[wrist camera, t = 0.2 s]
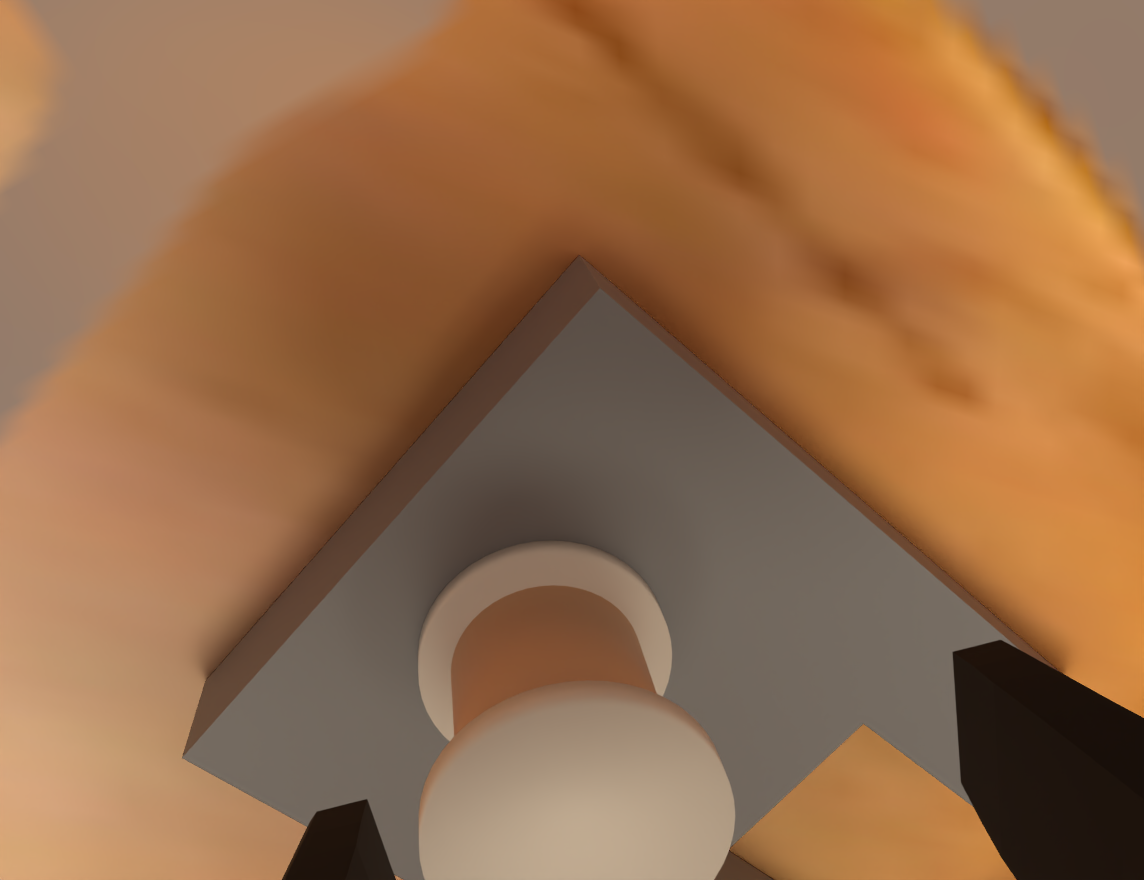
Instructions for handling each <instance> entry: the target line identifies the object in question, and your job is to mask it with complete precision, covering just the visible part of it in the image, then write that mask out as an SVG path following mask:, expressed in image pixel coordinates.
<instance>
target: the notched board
mask: <svg viewBox="0 0 1144 880" xmlns="http://www.w3.org/2000/svg"><path fill="white" fill-rule="evenodd" d="M997 640H1002V641H1004V642H1006V643H1008V644H1010V645H1012V646H1014V647H1016V648H1017V649H1019V650H1021V651H1023V652H1025V653H1027V654H1028V655H1030V656H1032V657H1034V658H1036V659H1037V660H1039V661H1041V662H1043V663H1044V664H1046V665H1048V666H1050V667H1052V668H1053V669H1055V670H1057V669H1056V668H1055V667H1053V666H1052V665H1051V664H1050V663H1049V662H1048V661H1046V660H1045V659H1044V658H1043V657H1042V656H1041V655H1040V654H1038V653H1037V652H1036V651H1035V650H1034V649H1033V648H1031V647H1030V646H1029V645H1028V644H1027V643H1026V642H1025V641H1023V640H1022V639H1021V638H1020V637H1019V636H1018V635H1017V634H1015V633H1014V632H1013V631H1012V630H1011V629H1010V628H1008V627H1007V626H1006V625H1005V624H1004V623H1003V622H1002V621H1000V620H999V619H998V618H997V617H996V616H995V615H993V614H992V613H991V612H990V611H989V610H988V609H987V608H985V607H984V606H983V605H982V604H981V603H980V602H979V601H977V600H976V599H975V598H974V597H973V596H972V595H970V594H969V593H968V592H967V591H966V590H965V589H964V588H962V587H961V586H960V585H959V584H958V583H957V582H955V581H954V580H953V579H952V578H951V577H950V576H949V575H947V574H946V573H945V572H944V571H943V570H942V569H941V568H939V567H938V566H937V565H936V564H935V563H934V562H932V561H931V560H930V559H929V558H928V557H927V556H926V555H924V554H923V553H922V552H921V551H920V550H919V549H917V548H916V547H915V546H914V545H913V544H912V543H911V542H909V541H908V540H907V539H906V538H905V537H904V536H903V535H901V534H900V533H899V532H898V531H897V530H896V529H894V528H893V527H892V526H891V525H890V524H889V523H888V522H886V521H885V520H884V519H883V518H882V517H881V516H879V515H878V514H877V513H876V512H875V511H874V510H873V509H871V508H870V507H869V506H868V505H867V504H866V503H865V502H863V501H862V500H861V499H860V498H859V497H858V496H856V495H855V494H854V493H853V492H852V491H851V490H850V489H848V488H847V487H846V486H845V485H844V484H843V483H841V482H840V481H839V480H838V479H837V478H836V477H835V476H833V475H832V474H831V473H830V472H829V471H828V470H826V469H825V468H824V467H823V466H822V465H821V464H820V463H818V462H817V461H816V460H815V459H814V458H813V457H812V456H810V455H809V454H808V453H807V452H806V451H805V450H803V449H802V448H801V447H800V446H799V445H798V444H797V443H795V442H794V441H793V440H792V439H791V438H790V437H788V436H787V435H786V434H785V433H784V432H783V431H782V430H780V429H779V428H778V427H777V426H776V425H775V424H774V423H772V422H771V421H770V420H769V419H768V418H767V417H765V416H764V415H763V414H762V413H761V412H760V411H759V410H757V409H756V408H755V407H754V406H753V405H752V404H750V403H749V402H748V401H747V400H746V399H745V398H744V397H742V396H741V395H740V394H739V393H738V392H737V391H736V390H734V389H733V388H732V387H731V386H730V385H729V384H727V383H726V382H725V381H724V380H723V379H722V378H721V377H719V376H718V375H717V374H716V373H715V372H714V371H712V370H711V369H710V368H709V367H708V366H707V365H706V364H704V363H703V362H702V361H701V360H700V359H699V358H698V357H696V356H695V355H694V354H693V353H692V352H691V351H689V350H688V349H687V348H686V347H685V346H684V345H683V344H681V343H680V342H679V341H678V340H677V339H676V338H674V337H673V336H672V335H671V334H670V333H669V332H668V331H666V330H665V329H664V328H663V327H662V326H661V325H660V324H658V323H657V322H656V321H655V320H654V319H653V318H651V317H650V316H649V315H648V314H647V313H646V312H645V311H643V310H642V309H641V308H640V307H639V306H638V305H636V304H635V303H634V302H633V301H632V300H631V299H630V298H628V297H627V296H626V295H625V294H624V293H623V292H622V291H620V290H619V289H618V288H617V287H616V286H615V285H613V284H612V283H611V282H610V281H609V280H608V279H607V278H605V277H604V276H603V275H602V274H601V273H600V272H598V271H597V270H596V269H595V268H594V267H593V266H592V265H590V264H589V263H588V262H587V261H586V260H585V259H584V258H582V257H581V256H580V255H579V256H578V257H577V258H576V259H575V260H574V261H573V263H572V264H571V265H570V266H569V267H568V268H567V269H566V271H565V272H564V273H563V274H562V275H561V276H560V277H559V279H558V280H557V281H556V282H555V283H554V284H553V285H552V286H551V288H550V289H549V290H548V291H547V292H546V293H545V294H544V296H543V297H542V298H541V299H540V300H539V301H538V302H537V304H536V305H535V306H534V307H533V308H532V309H531V310H530V312H529V313H528V314H527V315H526V316H525V317H524V318H523V320H522V321H521V322H520V323H519V324H518V325H517V326H516V328H515V329H514V330H513V331H512V332H511V333H510V334H509V336H508V337H507V338H506V339H505V340H504V341H503V342H502V344H501V345H500V346H499V347H498V348H497V349H496V350H495V352H494V353H493V354H492V355H491V356H490V357H489V358H488V359H487V361H486V362H485V363H484V364H483V365H482V366H481V367H480V369H479V370H478V371H477V372H476V373H475V374H474V375H473V377H472V378H471V379H470V380H469V381H468V382H467V383H466V385H465V386H464V387H463V388H462V389H461V390H460V391H459V393H458V394H457V395H456V396H455V397H454V398H453V399H452V401H451V402H450V403H449V404H448V405H447V406H446V407H445V409H444V410H443V411H442V412H441V413H440V414H439V415H438V417H437V418H436V419H435V420H434V421H433V422H432V423H431V424H430V426H429V427H428V428H427V429H426V430H425V431H424V432H423V434H422V435H421V436H420V437H419V438H418V439H417V440H416V442H415V443H414V444H413V445H412V446H411V447H410V448H409V450H408V451H407V452H406V453H405V454H404V455H403V456H402V458H401V459H400V460H399V461H398V462H397V463H396V464H395V466H394V467H393V468H392V469H391V470H390V471H389V472H388V474H387V475H386V476H385V477H384V478H383V479H382V480H381V482H380V483H379V484H378V485H377V486H376V487H375V488H374V490H373V491H372V492H371V493H370V494H369V495H368V496H367V497H366V499H365V500H364V501H363V502H362V503H361V504H360V505H359V507H358V508H357V509H356V510H355V511H354V512H353V513H352V515H351V516H350V517H349V518H348V519H347V520H346V521H345V523H344V524H343V525H342V526H341V527H340V528H339V529H338V531H337V532H336V533H335V534H334V535H333V536H332V537H331V539H330V540H329V541H328V542H327V543H326V544H325V545H324V547H323V548H322V549H321V550H320V551H319V552H318V553H317V555H316V556H315V557H314V558H313V559H312V560H311V561H310V563H309V564H308V565H307V566H306V567H305V568H304V569H303V570H302V572H301V573H300V574H299V575H298V576H297V577H296V578H295V580H294V581H293V582H292V583H291V584H290V585H289V586H288V588H287V589H286V590H285V591H284V592H283V593H282V594H281V596H280V597H279V598H278V599H277V600H276V601H275V602H274V604H273V605H272V606H271V607H270V608H269V609H268V610H267V612H266V613H265V614H264V615H263V616H262V617H261V618H260V620H259V621H258V622H257V623H256V624H255V625H254V626H253V628H252V629H251V630H250V631H249V632H248V633H247V634H246V635H245V637H244V638H243V639H242V640H241V641H240V642H239V643H238V645H237V646H236V647H235V648H234V649H233V650H232V651H231V653H230V654H229V655H228V656H227V657H226V658H225V659H224V661H223V662H222V663H221V664H220V665H219V666H218V667H217V669H216V670H215V671H214V672H213V673H212V674H211V675H210V677H209V678H208V679H207V680H206V681H205V684H204V687H203V691H202V694H201V697H200V700H199V704H198V707H197V710H196V714H195V717H194V720H193V723H192V727H191V730H190V733H189V737H188V740H187V743H186V746H185V750H184V753H183V756H182V758H183V759H185V760H187V761H188V762H190V763H192V764H194V765H196V766H198V767H199V768H201V769H203V770H205V771H207V772H208V773H210V774H212V775H214V776H216V777H218V778H219V779H221V780H223V781H225V782H227V783H228V784H230V785H232V786H234V787H236V788H238V789H239V790H241V791H243V792H245V793H247V794H249V795H250V796H252V797H254V798H256V799H258V800H259V801H261V802H263V803H265V804H267V805H269V806H270V807H272V808H274V809H276V810H278V811H280V812H281V813H283V814H285V815H287V816H289V817H290V818H292V819H294V820H296V821H298V822H300V823H301V824H303V825H305V826H308V824H309V822H310V821H311V819H312V818H313V816H314V815H315V813H316V812H317V811H321V810H325V809H329V808H333V807H337V806H341V805H345V804H349V803H353V802H357V801H361V800H365V799H367V800H368V802H369V805H370V808H371V811H372V814H373V817H374V819H375V822H376V825H377V828H378V831H379V834H380V836H381V839H382V842H383V845H384V848H385V850H386V853H387V856H388V859H389V862H390V865H391V867H392V870H393V873H394V875H396V876H398V877H400V878H402V879H403V880H773V879H771V878H770V877H768V876H767V875H765V874H764V873H762V872H761V871H759V870H758V869H756V868H754V867H753V866H751V865H750V864H748V863H747V862H745V861H744V860H742V859H741V858H739V857H737V856H736V855H734V854H733V853H731V852H730V851H729V849H730V847H731V846H733V845H734V844H735V843H736V842H737V841H738V840H739V839H740V838H741V837H742V836H743V835H744V834H745V833H746V832H748V831H749V830H750V829H751V828H752V827H753V826H754V825H755V824H756V823H757V822H758V821H759V820H760V819H762V818H763V817H764V816H765V815H766V814H767V813H768V812H769V811H770V810H771V809H772V808H773V807H774V806H776V805H777V804H778V803H779V802H780V801H781V800H782V799H783V798H784V797H785V796H786V795H787V794H788V793H789V792H791V791H792V790H793V789H794V788H795V787H796V786H797V785H798V784H799V783H800V782H801V781H802V780H803V779H805V778H806V777H807V776H808V775H809V774H810V773H811V772H812V771H813V770H814V769H815V768H816V767H817V766H819V765H820V764H821V763H822V762H823V761H824V760H825V759H826V758H827V757H828V756H829V755H830V754H831V753H833V752H834V751H835V750H836V749H837V748H838V747H839V746H840V745H841V744H842V743H843V742H844V741H845V740H846V739H848V738H849V737H850V736H851V735H852V734H853V733H854V732H855V731H856V730H857V729H858V728H859V727H860V726H862V725H863V724H865V725H866V726H867V727H869V728H870V729H871V730H872V731H874V732H875V733H876V734H878V735H879V736H880V737H882V738H883V739H884V740H886V741H887V742H888V743H890V744H891V745H892V746H894V747H895V748H896V749H898V750H899V751H900V752H902V753H903V754H904V755H906V756H907V757H908V758H910V759H911V760H912V761H913V762H915V763H916V764H917V765H919V766H920V767H921V768H923V769H924V770H925V771H927V772H928V773H929V774H931V775H932V776H933V777H935V778H936V779H937V780H939V781H940V782H941V783H943V784H944V785H945V786H947V787H948V788H949V789H951V790H952V791H953V792H955V793H956V794H957V795H958V796H960V797H961V798H962V799H964V800H965V801H966V802H968V803H969V804H970V805H972V803H971V801H970V799H969V797H968V795H967V793H966V792H965V790H964V788H963V786H962V784H961V777H960V761H959V746H958V730H957V715H956V700H955V684H954V669H953V653H952V652H954V651H958V650H961V649H965V648H969V647H973V646H977V645H981V644H985V643H989V642H993V641H997ZM1057 671H1058V670H1057ZM972 806H973V805H972Z"/></svg>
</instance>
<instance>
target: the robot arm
mask: <svg viewBox="0 0 1144 880" xmlns="http://www.w3.org/2000/svg"><path fill="white" fill-rule="evenodd" d="M952 653H953V669H954V684H955V700H956V715H957V730H958V746H959V761H960V777H961V784H962V786H963V788H964V790H965V792H966V793H967V795H968V797H969V799H970V801H971V803H972V805H973V807H974V809H975V810H976V812H977V814H978V816H979V818H980V820H981V822H982V824H983V825H984V827H985V829H986V831H987V833H988V834H989V836H990V838H991V840H992V841H993V843H994V845H995V847H996V849H997V850H998V852H999V854H1000V856H1001V857H1002V859H1003V860H1004V862H1005V863H1006V865H1007V866H1008V868H1009V869H1010V871H1011V872H1012V873H1013V875H1014V876H1015V878H1016V879H1017V880H1144V718H1143V717H1141V716H1139V715H1137V714H1135V713H1133V712H1131V711H1129V710H1128V709H1126V708H1124V707H1122V706H1120V705H1118V704H1116V703H1115V702H1113V701H1111V700H1109V699H1107V698H1105V697H1104V696H1102V695H1100V694H1098V693H1096V692H1095V691H1093V690H1091V689H1089V688H1087V687H1086V686H1084V685H1082V684H1080V683H1078V682H1077V681H1075V680H1073V679H1071V678H1069V677H1068V676H1066V675H1064V674H1062V673H1060V672H1059V671H1057V670H1055V669H1053V668H1052V667H1050V666H1048V665H1046V664H1044V663H1043V662H1041V661H1039V660H1037V659H1036V658H1034V657H1032V656H1030V655H1028V654H1027V653H1025V652H1023V651H1021V650H1019V649H1017V648H1016V647H1014V646H1012V645H1010V644H1008V643H1006V642H1004V641H1002V640H997V641H993V642H989V643H985V644H981V645H977V646H973V647H969V648H965V649H961V650H958V651H954V652H952ZM282 880H396V879H395V876H394V873H393V870H392V867H391V865H390V862H389V859H388V856H387V853H386V850H385V848H384V845H383V842H382V839H381V836H380V834H379V831H378V828H377V825H376V822H375V819H374V817H373V814H372V811H371V808H370V805H369V802H368V800H367V799H365V800H361V801H357V802H353V803H349V804H345V805H341V806H337V807H333V808H329V809H325V810H321V811H317V812H316V813H315V815H314V816H313V818H312V819H311V821H310V822H309V824H308V826H307V829H306V831H305V833H304V835H303V837H302V839H301V841H300V843H299V845H298V848H297V850H296V852H295V854H294V856H293V858H292V860H291V862H290V864H289V866H288V868H287V870H286V873H285V875H284V877H283V879H282Z"/></svg>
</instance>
